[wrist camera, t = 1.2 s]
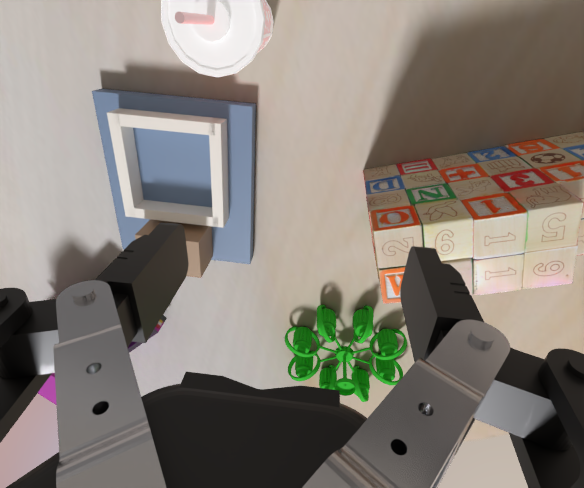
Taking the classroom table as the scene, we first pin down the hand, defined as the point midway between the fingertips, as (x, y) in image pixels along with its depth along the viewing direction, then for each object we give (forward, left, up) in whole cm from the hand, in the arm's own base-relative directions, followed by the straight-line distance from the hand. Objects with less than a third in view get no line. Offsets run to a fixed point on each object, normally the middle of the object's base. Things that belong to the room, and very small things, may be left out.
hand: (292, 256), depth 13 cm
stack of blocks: (+4, +15, -23) cm, 28 cm away
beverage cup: (-7, -7, -23) cm, 24 cm away
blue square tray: (+7, -13, -22) cm, 27 cm away
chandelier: (+26, +6, -23) cm, 35 cm away
